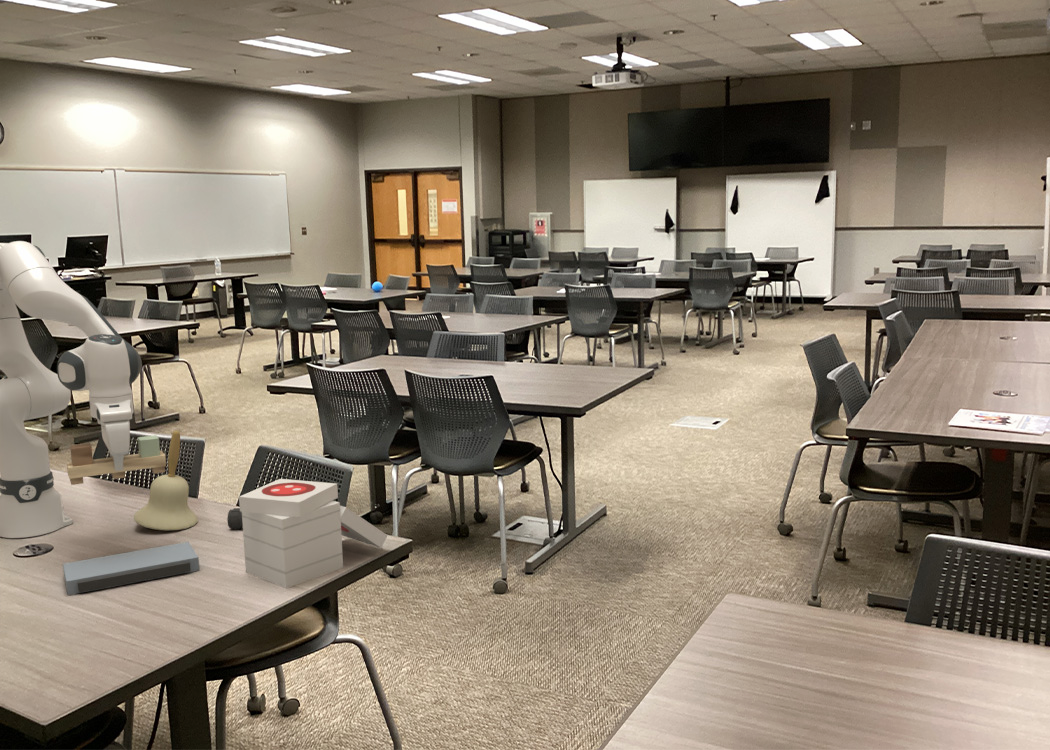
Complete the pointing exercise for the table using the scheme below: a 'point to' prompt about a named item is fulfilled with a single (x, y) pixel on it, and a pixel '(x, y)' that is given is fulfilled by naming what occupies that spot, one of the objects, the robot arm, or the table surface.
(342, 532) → the pizza boxes
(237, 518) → the flashlight
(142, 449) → the block
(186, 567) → the dock
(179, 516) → the handbell
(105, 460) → the pallet
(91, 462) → the block
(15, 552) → the table surface
